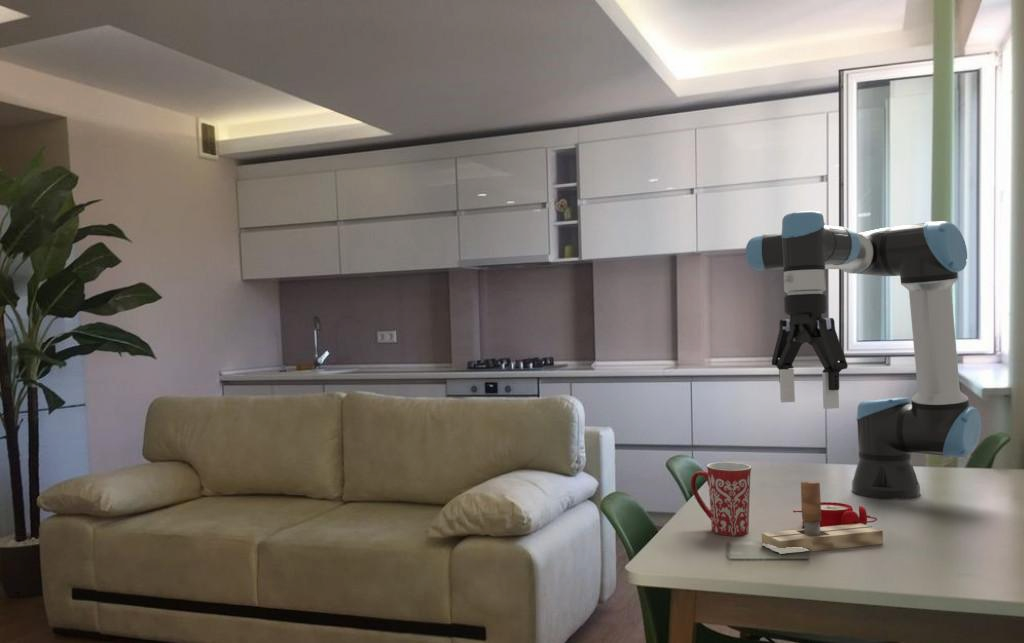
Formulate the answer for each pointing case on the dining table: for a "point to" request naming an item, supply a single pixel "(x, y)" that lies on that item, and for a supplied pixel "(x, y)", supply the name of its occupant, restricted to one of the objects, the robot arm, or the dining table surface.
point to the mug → (726, 497)
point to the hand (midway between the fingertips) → (808, 405)
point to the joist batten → (826, 537)
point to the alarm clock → (841, 515)
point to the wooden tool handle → (811, 507)
